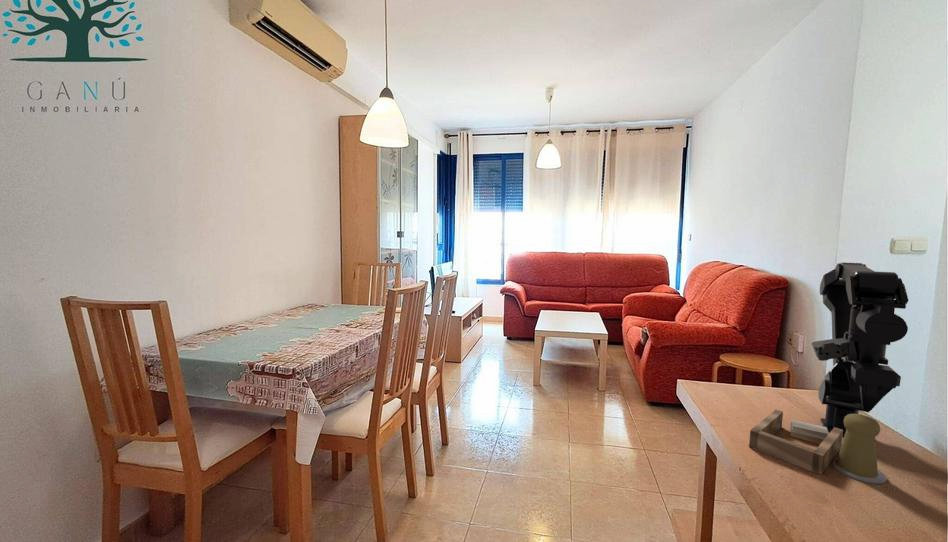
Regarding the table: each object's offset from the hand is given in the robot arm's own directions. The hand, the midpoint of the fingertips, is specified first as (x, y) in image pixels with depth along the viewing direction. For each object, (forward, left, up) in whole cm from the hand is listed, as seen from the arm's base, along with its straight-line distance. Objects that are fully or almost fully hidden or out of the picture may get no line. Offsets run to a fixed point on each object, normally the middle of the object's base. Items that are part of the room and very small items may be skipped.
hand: (859, 402), depth 83 cm
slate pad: (+8, -1, -12) cm, 14 cm away
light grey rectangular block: (-4, -7, -12) cm, 15 cm away
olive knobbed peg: (+7, -1, -12) cm, 14 cm away
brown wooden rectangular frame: (+3, -10, -12) cm, 16 cm away
